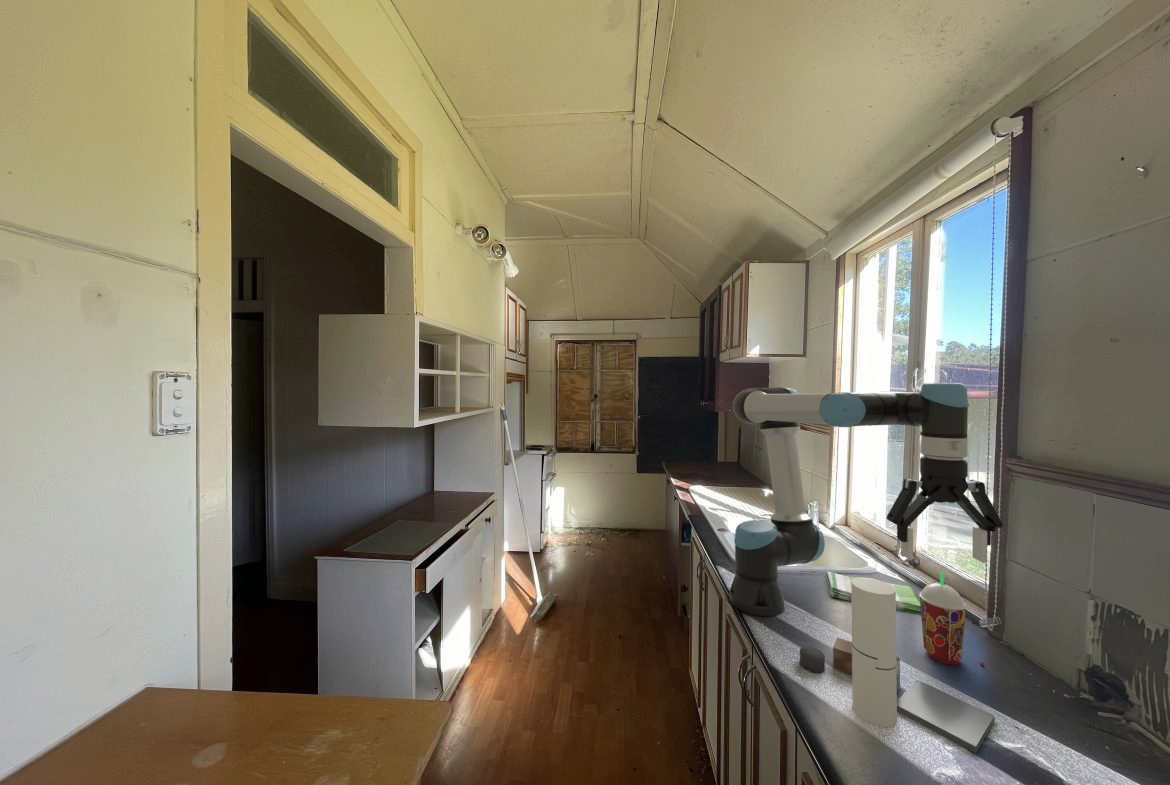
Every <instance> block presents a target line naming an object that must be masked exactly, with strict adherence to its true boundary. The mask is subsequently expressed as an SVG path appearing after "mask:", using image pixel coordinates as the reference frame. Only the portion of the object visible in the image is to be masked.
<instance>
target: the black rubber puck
mask: <svg viewBox="0 0 1170 785" xmlns="http://www.w3.org/2000/svg"><path fill="white" fill-rule="evenodd" d="M825 657H826V656H825V654H824V652H822V651H821V650H819V649H817V648H814V647H811V646H803V647H801V648H800V649H799V665H800V667H801V666H802V669H804V670H805V671H807V672H809V673H812V674H823V673H825V669H826V665H825V664H826V663H825V662H826V661H825V660H826V659H825Z"/></svg>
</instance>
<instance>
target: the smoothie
mask: <svg viewBox="0 0 1170 785" xmlns="http://www.w3.org/2000/svg"><path fill="white" fill-rule="evenodd" d="M944 576H945V575H944V572H943V571H940V572H939V582H932V583H929V584H927V585H925V586H924V588H922V590H921V591H920V592H919V593H918V595H919V602H920V607H921V614H920V617H921V628H922V629H921V630H922V638H923V648H924V649H925V651H926V653H927V654H926V655H927V656H929V657H930V658H931V659H933V660H935V661H936V662H939V663H942V664H945V665H950V666H951V665H953V666H954V665H958V664H959V662H960V661H961V660H962V658H963V647H964V634H965V622H966V611H967V610H966V607H967V604H966V602H965V601H964V600H963V598H962V596H961V595H960V594H959V592H958V591H957V590H956V589H954V588H953V587H951V586H950V585H949V584H945V583H944V582H945V581H944Z"/></svg>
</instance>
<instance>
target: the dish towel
mask: <svg viewBox="0 0 1170 785" xmlns="http://www.w3.org/2000/svg"><path fill="white" fill-rule="evenodd" d="M825 578H826V582H827V586H828V590H829V595H830V597H831V598H833V599H836V598H837V599H839V600H840V599H841V600H844V601H848V602H852V594H851V580H852V579H854V578H856V577H855V576H847V575H843V574H839V573H836V572H834V571H830V570H829V571H826V574H825ZM887 583H888V584H890V585H891V586H893V587H894V588H895V590H896V611H903V612H908V613H913V614H918V615H921V607H920V600H918V598H917V596H916V595H915V593H914V590H913V588H911V587H910V586H908V585H902V584H901V585H900V584H896V583H889V582H887Z"/></svg>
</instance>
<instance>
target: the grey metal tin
mask: <svg viewBox="0 0 1170 785" xmlns="http://www.w3.org/2000/svg"><path fill="white" fill-rule="evenodd" d="M896 678H897V693H898V692H900V691H901V660H900V657H899V656H898V655H896Z"/></svg>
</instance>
